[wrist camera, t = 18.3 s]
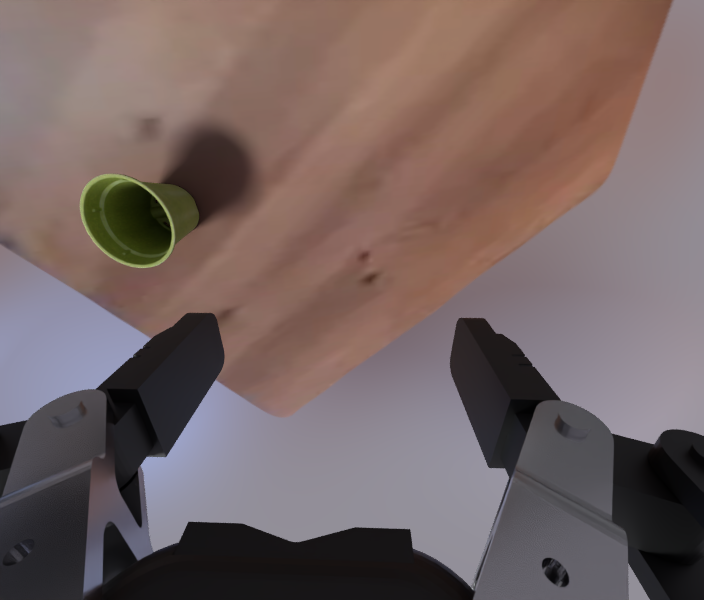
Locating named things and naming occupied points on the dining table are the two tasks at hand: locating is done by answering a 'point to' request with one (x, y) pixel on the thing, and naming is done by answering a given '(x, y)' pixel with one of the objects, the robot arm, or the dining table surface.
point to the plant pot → (136, 218)
